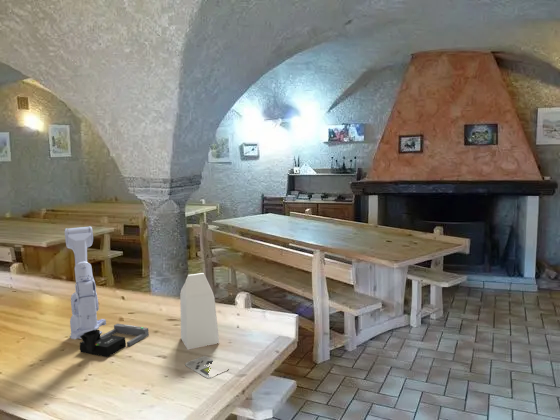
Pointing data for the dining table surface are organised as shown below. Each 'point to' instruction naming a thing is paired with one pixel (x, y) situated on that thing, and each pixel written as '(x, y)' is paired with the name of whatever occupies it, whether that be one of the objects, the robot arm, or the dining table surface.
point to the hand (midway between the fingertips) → (90, 350)
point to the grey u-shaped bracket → (128, 332)
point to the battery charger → (105, 346)
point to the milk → (198, 313)
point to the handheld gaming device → (200, 365)
